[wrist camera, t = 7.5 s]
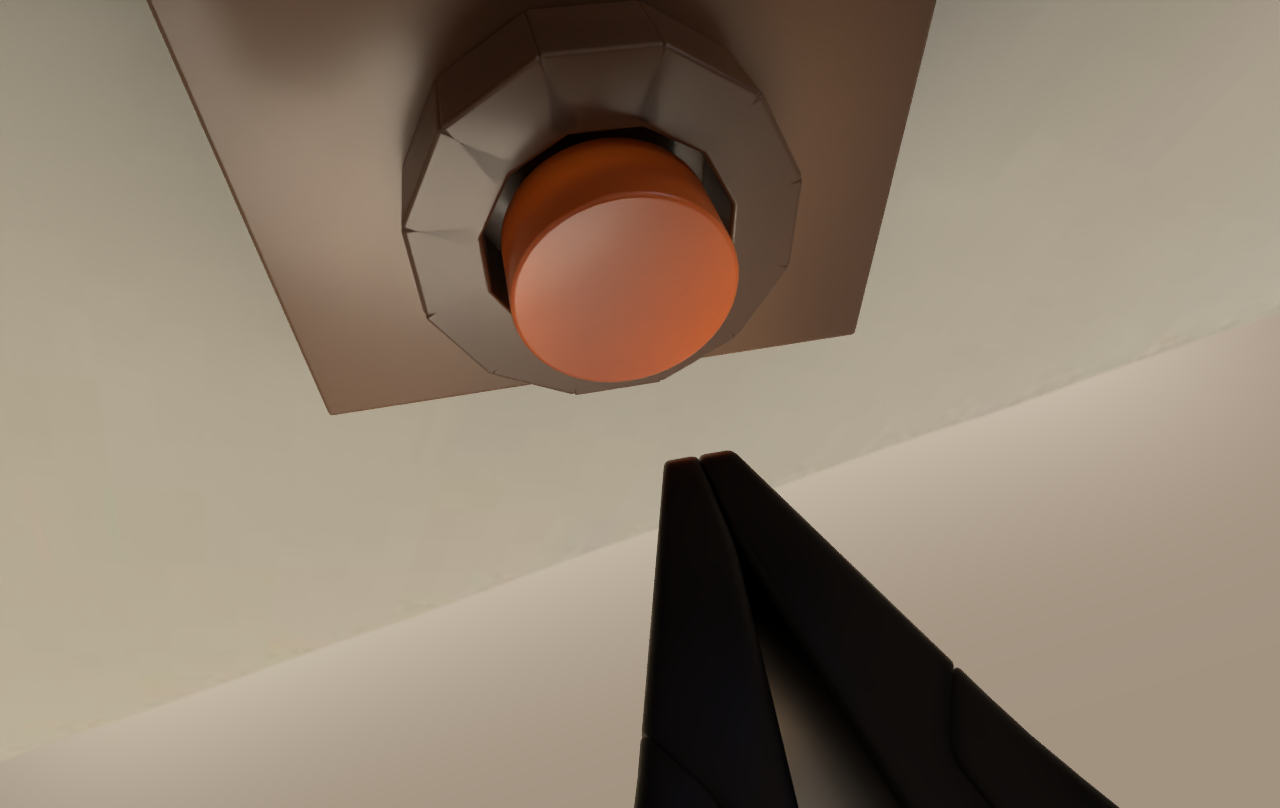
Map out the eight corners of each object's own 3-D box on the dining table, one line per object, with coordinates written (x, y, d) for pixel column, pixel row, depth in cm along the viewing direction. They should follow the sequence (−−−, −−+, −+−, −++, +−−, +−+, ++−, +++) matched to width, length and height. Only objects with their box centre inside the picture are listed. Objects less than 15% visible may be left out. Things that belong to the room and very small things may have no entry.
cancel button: (716, 123, 12) (750, 178, 11) (704, 305, 14) (731, 366, 13) (484, 149, 11) (493, 209, 10) (515, 333, 14) (525, 399, 13)
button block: (916, -143, 13) (1036, -90, 10) (828, 292, 19) (888, 387, 17) (147, -94, 11) (75, -17, 9) (334, 364, 17) (322, 481, 15)
